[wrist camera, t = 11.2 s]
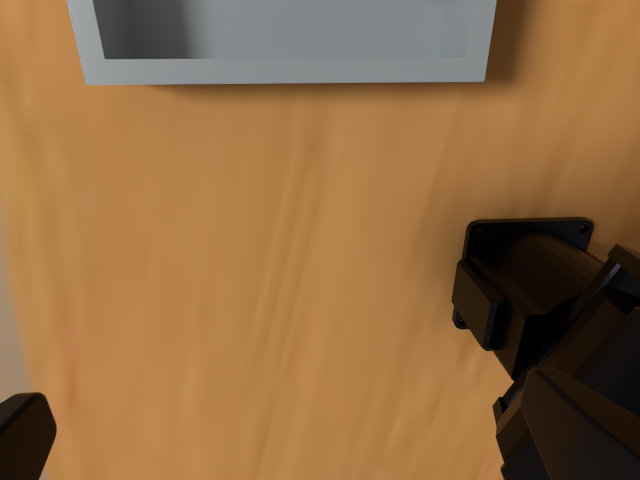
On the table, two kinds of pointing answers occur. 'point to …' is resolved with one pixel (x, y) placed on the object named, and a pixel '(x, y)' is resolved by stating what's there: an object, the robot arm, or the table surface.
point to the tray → (281, 41)
